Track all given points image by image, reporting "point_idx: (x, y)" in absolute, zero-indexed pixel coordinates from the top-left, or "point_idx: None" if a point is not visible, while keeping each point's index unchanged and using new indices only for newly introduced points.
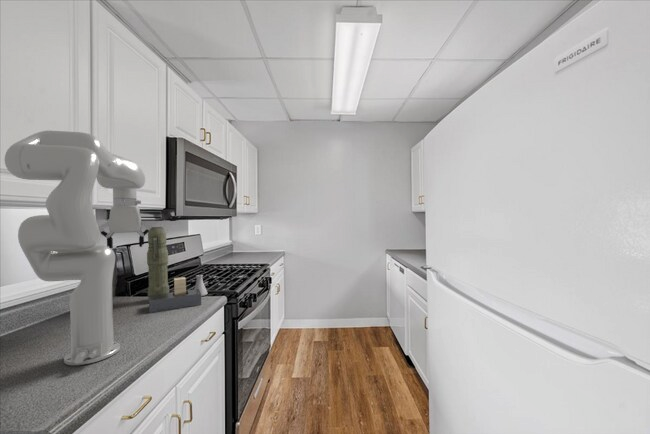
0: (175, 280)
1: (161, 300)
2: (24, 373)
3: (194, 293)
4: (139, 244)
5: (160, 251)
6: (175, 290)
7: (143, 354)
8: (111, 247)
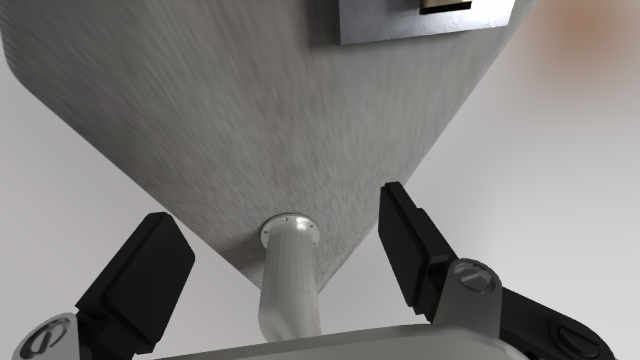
0: (465, 1)
1: (377, 40)
2: (233, 251)
3: (491, 8)
4: (384, 247)
5: None
6: (438, 5)
7: (349, 247)
8: (192, 259)
